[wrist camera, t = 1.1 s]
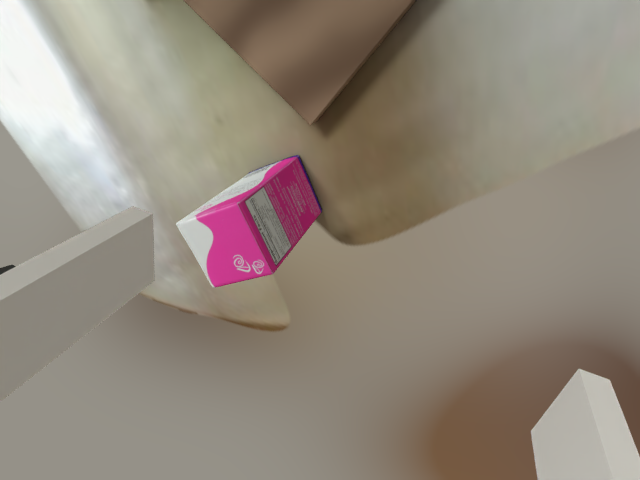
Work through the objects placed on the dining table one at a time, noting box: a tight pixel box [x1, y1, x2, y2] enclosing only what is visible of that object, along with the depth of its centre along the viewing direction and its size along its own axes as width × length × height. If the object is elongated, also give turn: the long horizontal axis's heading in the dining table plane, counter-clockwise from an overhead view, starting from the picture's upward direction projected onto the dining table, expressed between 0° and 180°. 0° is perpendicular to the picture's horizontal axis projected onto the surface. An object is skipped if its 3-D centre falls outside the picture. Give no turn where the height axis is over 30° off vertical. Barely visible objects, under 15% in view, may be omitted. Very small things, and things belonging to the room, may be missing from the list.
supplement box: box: [176, 155, 322, 288], centre depth 33 cm, size 6×6×12 cm
